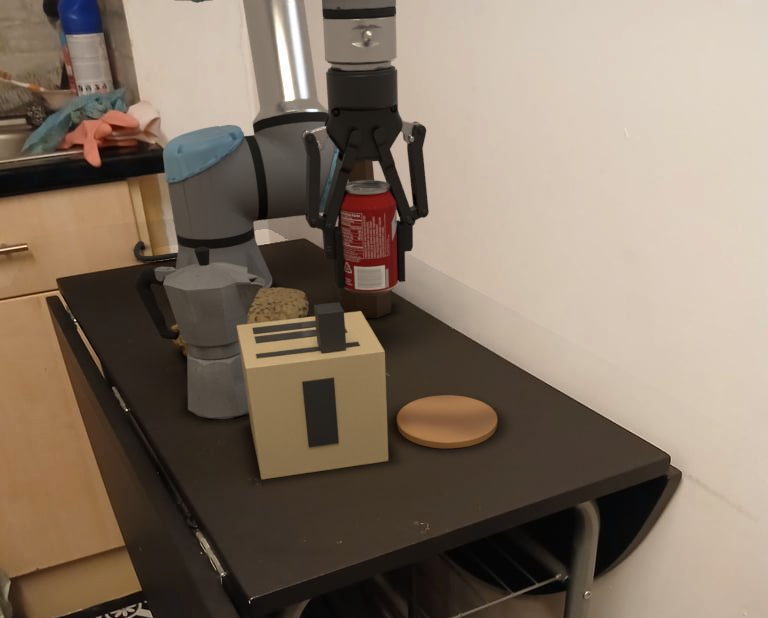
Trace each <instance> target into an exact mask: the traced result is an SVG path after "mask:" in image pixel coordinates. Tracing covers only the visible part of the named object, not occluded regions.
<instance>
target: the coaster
mask: <svg viewBox="0 0 768 618" xmlns="http://www.w3.org/2000/svg"><path fill="white" fill-rule="evenodd" d="M396 428H397V431H398V432H399V434H401V435H402V437H404V438H405V439H406V440H408V441H410V442H411V443H414V444H417V445H419V446H423V447H427V448H432V449H445V450H446V449H449V450H450V449H460V448H461V449H463V448H467V447H471V446H475V445H479V444H480V443H483V442H486V441H487V440H488V439H489V438H491V437H492V436H493V435H494V434H495V432H496V430H497V428H498V415H497V412H496V411H495V410H494V409H493V407H491V406H490V405H488V404H487V403H485V402H484V401H481V400H478V399H476V398H472V397H468V396H462V395H453V394H451V395H450V394H442V395H441V394H440V395H431V396H427V397H426V396H425V397H422V398H418V399H415V400H413V401H411V402H409V403H407V404H406V405H404V406H403V407H402V408H400V410H399V411H398V413H397V414H396Z"/></svg>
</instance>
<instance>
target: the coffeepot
mask: <svg viewBox="0 0 768 618" xmlns="http://www.w3.org/2000/svg"><path fill="white" fill-rule="evenodd" d="M194 251H195V254H196V257H197V260H198V262H199V264H193V265H190V266H187V267H184V268H181V269H178V270H176V267H173V266H159V267H158V266H152V265H146V266H144V267H142V268H141V270H140V272H139V273H138V275H137V277H136V278H135V280H134V287H135V290H136V293H137V294H138V296H139V297H140V298H139V299H141V301H142V303H143V305H144V307H145V309H146V311H147V313H148V315H149V317H150V319H151V320H152V323H153V324H154V327H155V328H156V330H157V332H158V334H159V337H161V338H163V339H165V340H171V341H172V340H176V339H177V338H178V334H179V333H178V332H174V331H172V330H171V329H169V328H168V325H167V323H166V318H165V315H164V313H163V311H162V309H160V306H159V304H158V301H157V298H156V296H155V295H156V294H155V293H154V290H153V288H152V287H151V285H152V284H153V285H154V284H155V285H158V286H162V287H164V289H165V294H166V296H167V299H168V302H169V305H170V307H171V308H170V309H171V310H172V313H173V316H174V319H175V323H176V325H178V328H179V331H180V333H181V336H182V339H183V340H184V341H186V342H187V347H188V356H187V357H186V358H187V359H186V362H187V363H186V364H187V368H186V369H187V372H186V373H187V410H188V411H189V412H191V413H192V414H194V415H195V416H197V417H200V418H203V419H207V420H208V419H209V420H229V419H236V418H239V417H242V416H245V415H248V414H249V409H248V402H247V395H246V389H245V382H244V375H243V368H242V361H241V354H240V347H239V340H238V333H237V325H244V324H248V312H249V310H250V308H251V305H252V303H253V301H254V299H255V296H256V295H257V293H258V291H259V289H260V288H262V287H264V286H265V282H264V280H263V279H262V278H258V277H259V276H256V275H252V274H249V273H248V268H247V267H243V266H238V265H234V264H230V263H226V262H219V263H209V251H210V248H207V247H199V248H196V249H195V250H194Z"/></svg>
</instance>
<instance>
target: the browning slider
mask: <svg viewBox="0 0 768 618" xmlns="http://www.w3.org/2000/svg"><path fill="white" fill-rule="evenodd" d="M313 308H314V316H315V322H316V333H317V343H318V346H319V348H320V350H321V352H322V353H323V352H331V351H339V350H346V335H345V319H344V310H343V306H342V304H341V303H340V302H339V301H338V302H328V303H322V304H321V303H320V304H314V305H313Z"/></svg>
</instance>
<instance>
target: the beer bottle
mask: <svg viewBox="0 0 768 618" xmlns="http://www.w3.org/2000/svg"><path fill="white" fill-rule="evenodd" d="M374 172H375V171H374V161H370V160H365V161H363V162H360V163H354V164H353V168H352V171H351V172H350V175H349V178H348V183H349V182H354V181H361V180H375V173H374ZM337 226H338V228H339V221H338V220H337ZM340 294H341V307H342V309H343V310H344V313H349V312H358V311H361V312H362V314H363V316H364V317H365V319H378V318H380V317H383V316H385V315H388V314H390V313H391V312H392V290H390V291H389V292H387V293H385V294H382V295H378V296H359V295H355V294H353V293H351V292H350V291H348V290H346V289H345V288H340Z"/></svg>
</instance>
